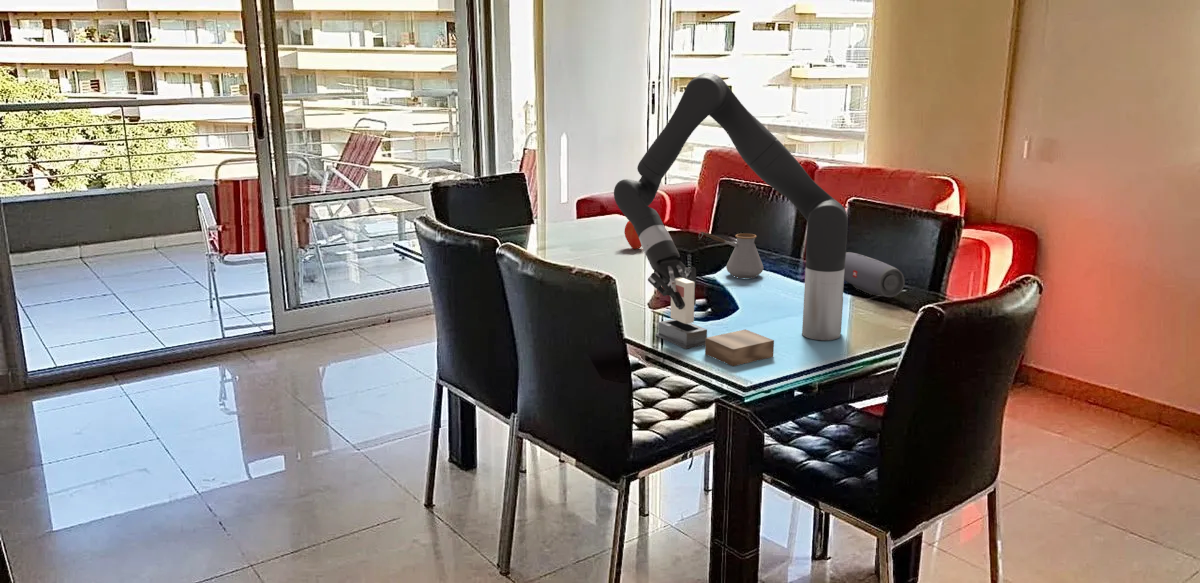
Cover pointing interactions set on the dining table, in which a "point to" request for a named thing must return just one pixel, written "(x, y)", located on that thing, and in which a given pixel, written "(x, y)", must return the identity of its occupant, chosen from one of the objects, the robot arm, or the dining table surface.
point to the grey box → (682, 333)
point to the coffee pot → (742, 256)
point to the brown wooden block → (739, 347)
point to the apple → (632, 236)
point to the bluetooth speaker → (873, 275)
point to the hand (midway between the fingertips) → (687, 306)
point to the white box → (687, 294)
